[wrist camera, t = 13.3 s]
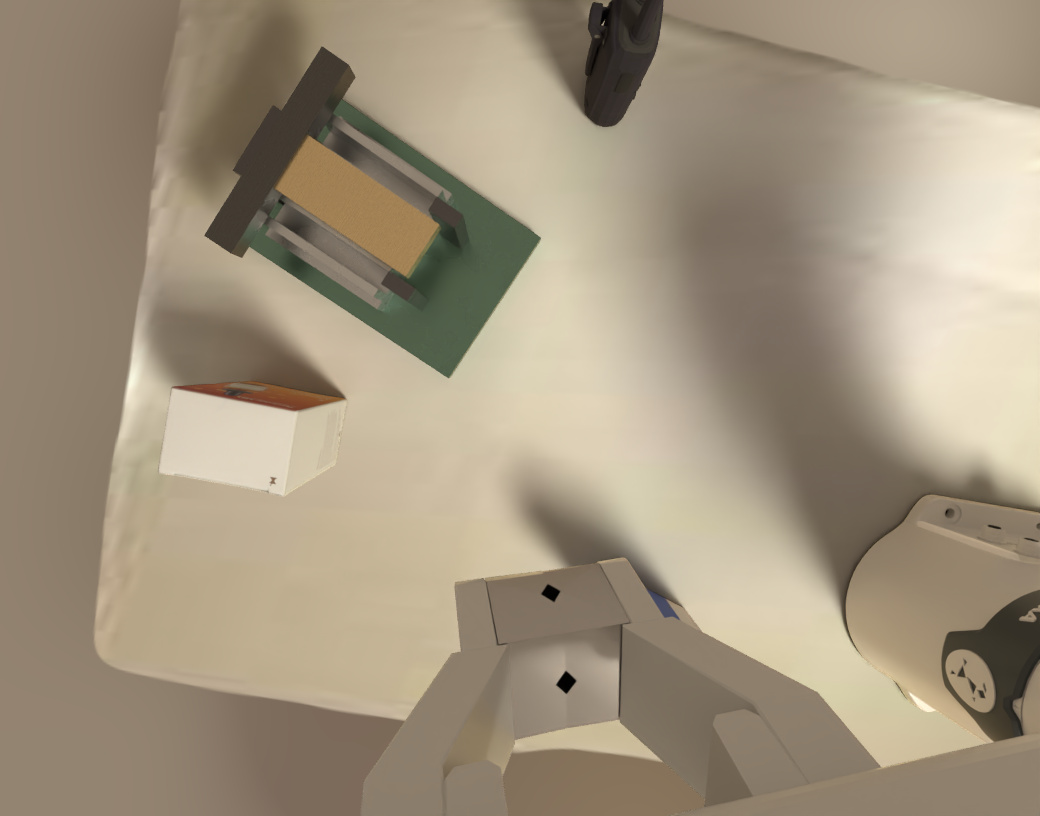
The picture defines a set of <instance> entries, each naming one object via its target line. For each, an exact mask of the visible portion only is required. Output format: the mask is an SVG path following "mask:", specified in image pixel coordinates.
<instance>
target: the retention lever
mask: <svg viewBox="0 0 1040 816" xmlns="http://www.w3.org/2000/svg"><path fill="white" fill-rule="evenodd" d="M354 79H355V75H354V74H353V72H352V70H351V68H350V66H349V65H348V64H347V63H345V62H344V61H342V60H341V59H339V58H338V57H337V56H335V55H334V54H332V53H331V52H329V51H328V50H326V49H325V48H324V47H321V49H320V50H319V52H318V54H317V55H316V57H315V58H314V60H313V62H312V63H311V65H310V66H309V68H308V70H307V71H306V73H305V74H304V76H303V78H302V79H301V81H300V82H299V84H298V86H297V87H296V89H295V91H294V92H293V94H292V95H291V97H290V99H289V100H288V102H287V103H286V105H285V107H284V108H283V110H282V111H281V113H280V115H279V116H278V118H277V119H276V121H275V123H274V124H273V126H272V127H271V129H270V131H269V132H268V134H267V136H266V137H265V139H264V140H263V142H262V144H261V145H260V147H259V148H258V150H257V152H256V153H255V155H254V156H253V158H252V160H251V161H250V163H249V164H248V166H247V168H246V169H245V171H244V172H243V174H242V176H241V177H240V179H239V181H238V182H237V184H236V185H235V187H234V189H233V190H232V192H231V193H230V195H229V197H228V198H227V200H226V201H225V203H224V205H223V206H222V208H221V209H220V211H219V213H218V214H217V216H216V217H215V219H214V221H213V222H212V224H211V225H210V227H209V229H208V230H207V232H206V234H205V235H204V236H206V237H207V238H209V239H210V240H212V241H213V242H215V243H216V244H218V245H219V246H221V247H222V248H224V249H225V250H227V251H228V252H230V253H232V254H234V255H236V256H239V257H241V258H242V257H243V255H244V254H245V252H246V251H247V249H248V248H249V246H250V244H251V243H252V241H253V240H254V238H255V236H256V235H257V233H258V232H259V230H260V228H261V227H262V225H263V224H264V222H265V220H266V219H267V217H268V216H269V214H270V212H271V211H272V209H273V208H274V206H275V205H276V203H277V201H278V200H279V198H280V197H281V195H282V194H283V195H284V196H286V197H287V198H289V199H290V200H292V201H293V202H295V203H296V204H298V205H299V206H301V207H302V208H304V209H305V210H307V211H308V212H309V213H311V214H312V215H314V216H315V217H317V218H318V219H320V220H321V221H323V222H324V223H326V224H327V225H329V226H330V227H332V228H333V229H335V230H336V231H338V232H339V233H341V234H342V235H344V236H345V237H347V238H348V239H350V240H351V241H353V242H354V243H356V244H357V245H359V246H360V247H362V248H363V249H365V250H366V251H368V252H369V253H370V254H372V255H373V256H375V257H376V258H378V259H379V260H381V261H382V262H384V263H385V264H387V265H388V266H390V267H391V268H393V269H394V270H396V271H397V272H399V273H400V274H402V275H403V276H405V277H406V278H408V279H409V278H410V276H411V275H412V273H413V272H414V270H415V269H416V267H417V265H418V264H419V262H420V261H421V259H422V258H423V256H424V255H425V253H426V252H427V250H428V248H429V247H430V245H431V244H432V242H433V241H434V239H435V238H436V236H437V235H438V233H439V231H440V230H441V227H440V225H439V224H438V223H437V222H435V221H434V220H432V219H431V218H429V217H428V216H426V215H425V214H423V213H422V212H420V211H419V210H417V209H416V208H415V207H413V206H412V205H410V204H409V203H407V202H406V201H404V200H403V199H401V198H400V197H398V196H397V195H395V194H394V193H393V192H391V191H390V190H388V189H387V188H385V187H384V186H382V185H381V184H379V183H378V182H376V181H375V180H373V179H372V178H371V177H369V176H368V175H366V174H365V173H363V172H362V171H360V170H359V169H357V168H356V167H354V166H353V165H351V164H350V163H348V162H347V161H346V160H344V159H343V158H341V157H340V156H338V155H337V154H335V153H334V152H332V151H331V150H329V149H328V148H326V147H325V146H324V145H322V144H321V143H319V142H318V141H316V139H317V138H318V136H319V134H320V133H321V131H322V130H323V128H324V127H325V125H326V123H327V122H328V120H329V119H330V117H331V115H332V114H333V112H334V111H335V109H336V107H337V106H338V104H339V103H340V101H341V99H342V98H343V96H344V95H345V93H346V91H347V90H348V88H349V87H350V85H351V84H352V82H353V80H354Z"/></svg>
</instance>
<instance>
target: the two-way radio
mask: <svg viewBox="0 0 1040 816" xmlns="http://www.w3.org/2000/svg"><path fill="white" fill-rule="evenodd" d="M662 13H663V0H612V1H611V2H610V3H609V5H608V6H607V7H603V4H602V3H596V2H593V3H592V6H591V9H590V15H589V23H588V30H589V32H590V34H591V37H592V41H591V45H590V49H589V53H588V57H587V62H586V70H585V74H586V76H588V77H587V82H586V89H585V101H584V106H585V112H586V114H587V116H588V118H590V119H591V120H592V121H593V122H594V123H595V124H596V125H599V126H602V127H609V126H613V125H616V124H617V123H618V122H619V121H620V120H621V119H622V118H623V116H624V114H625V113H626V111H627V109H628V107H629V105H630V103H631V101H632V99H633V100H634V98H635V96H636V91H637V90H638V89H639V87H640V86H641V82H642V80H643V78H644V76H645V74H646V72H647V70H648V68H649V66H650V64H651V61H652V59H653V57H654V55H655V52H656V49H657V45H658V40H659V35H660V28H661V21H662ZM604 20H605V22H604ZM603 22H604V25H603V26H601V25H602V24H603Z"/></svg>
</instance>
